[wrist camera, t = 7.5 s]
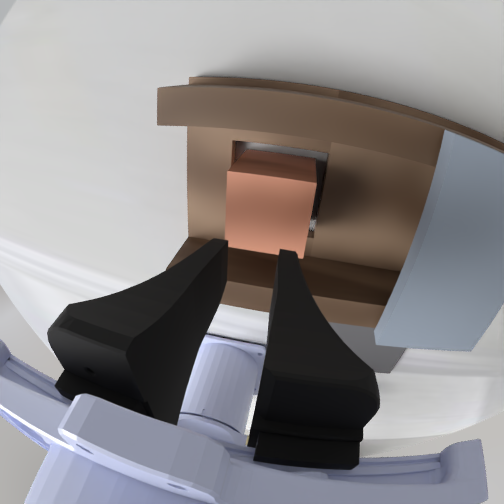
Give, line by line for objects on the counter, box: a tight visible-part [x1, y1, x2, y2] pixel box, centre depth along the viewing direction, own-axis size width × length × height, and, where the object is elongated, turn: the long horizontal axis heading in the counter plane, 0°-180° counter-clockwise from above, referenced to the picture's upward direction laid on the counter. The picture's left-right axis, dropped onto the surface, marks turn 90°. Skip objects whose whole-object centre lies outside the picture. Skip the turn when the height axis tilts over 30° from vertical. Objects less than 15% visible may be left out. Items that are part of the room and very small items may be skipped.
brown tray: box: [157, 77, 504, 328], centre depth 17 cm, size 14×23×5 cm, turn 86°
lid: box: [374, 130, 504, 351], centre depth 13 cm, size 13×8×1 cm, turn 176°
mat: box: [328, 322, 406, 373], centre depth 26 cm, size 9×9×1 cm
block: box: [225, 149, 317, 259], centre depth 18 cm, size 4×4×5 cm
